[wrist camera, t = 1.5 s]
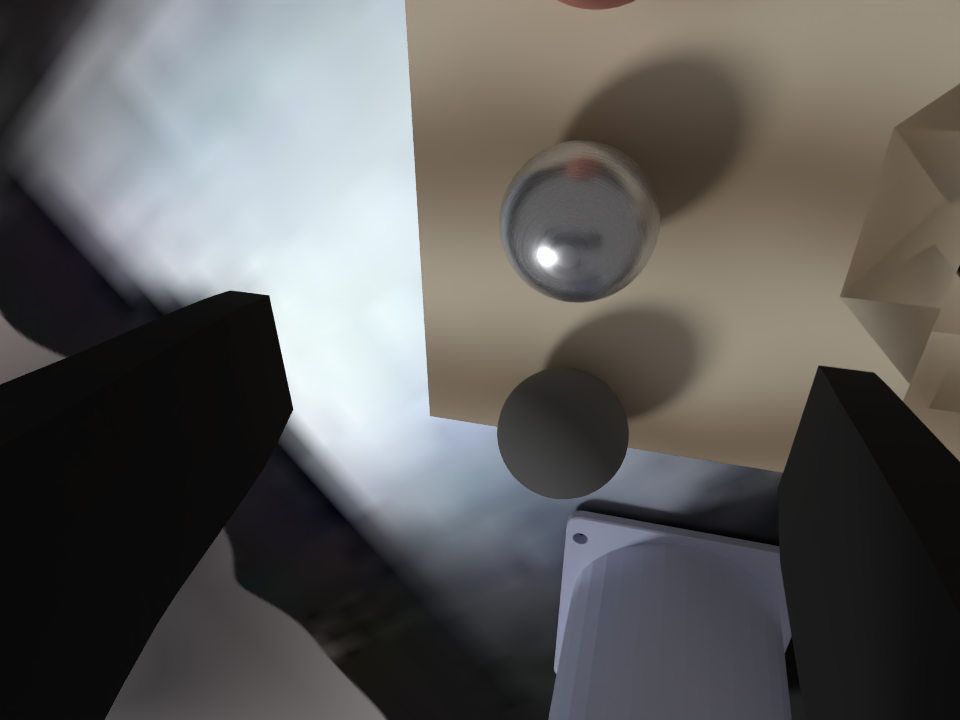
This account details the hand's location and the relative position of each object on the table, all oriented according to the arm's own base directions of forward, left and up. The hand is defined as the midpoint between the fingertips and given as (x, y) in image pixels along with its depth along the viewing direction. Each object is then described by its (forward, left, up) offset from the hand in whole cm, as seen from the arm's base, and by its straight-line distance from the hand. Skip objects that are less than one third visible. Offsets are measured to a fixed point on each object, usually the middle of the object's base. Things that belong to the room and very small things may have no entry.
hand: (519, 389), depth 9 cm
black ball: (-6, 0, -6) cm, 8 cm away
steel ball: (0, 0, -6) cm, 6 cm away
